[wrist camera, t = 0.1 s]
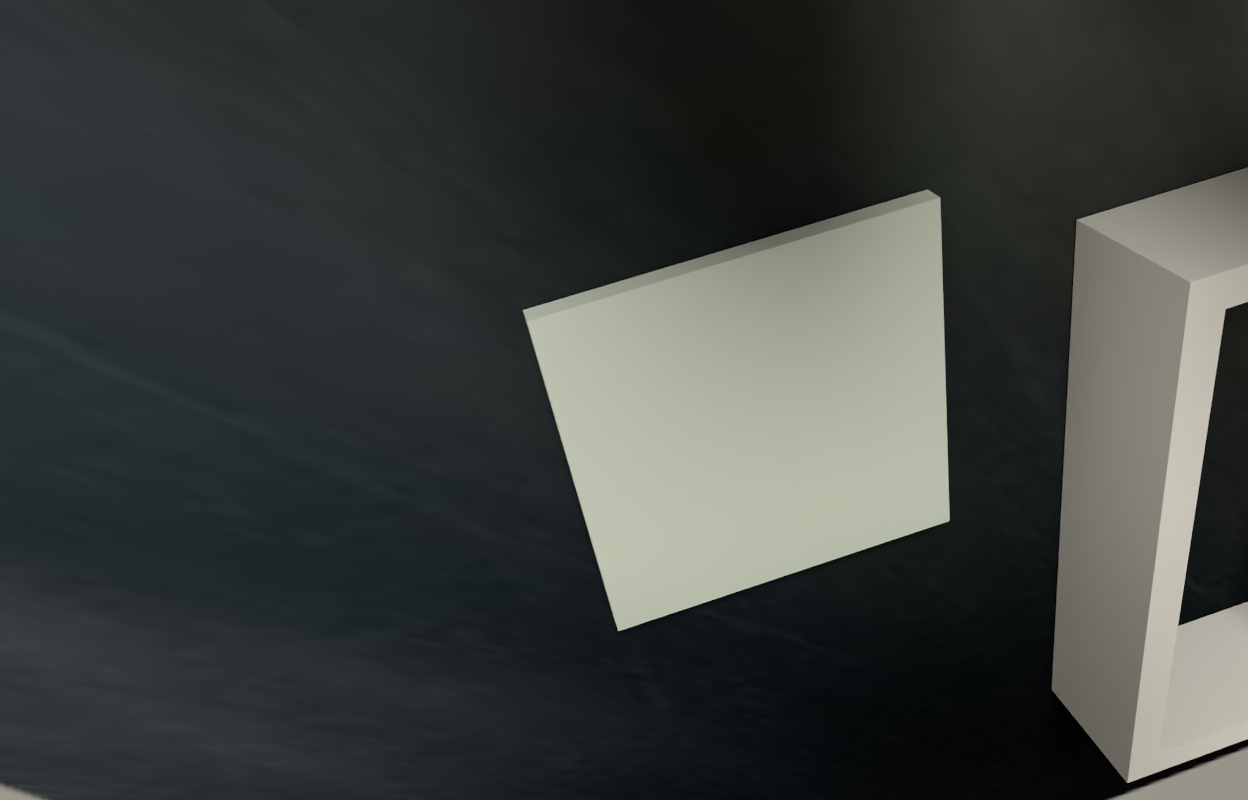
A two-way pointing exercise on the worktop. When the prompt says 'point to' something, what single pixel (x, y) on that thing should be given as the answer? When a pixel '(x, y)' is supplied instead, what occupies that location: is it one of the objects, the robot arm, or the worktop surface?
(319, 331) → the worktop surface
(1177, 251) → the white square frame
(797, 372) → the sage mat
